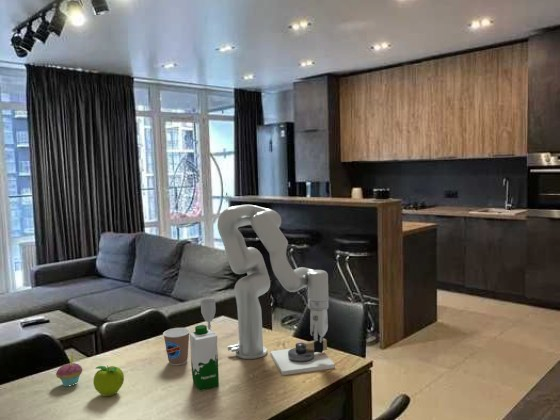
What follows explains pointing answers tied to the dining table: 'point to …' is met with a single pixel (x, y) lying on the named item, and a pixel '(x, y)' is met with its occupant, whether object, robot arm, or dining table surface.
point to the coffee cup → (177, 345)
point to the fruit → (108, 380)
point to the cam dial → (304, 351)
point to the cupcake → (69, 373)
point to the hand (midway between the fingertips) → (318, 351)
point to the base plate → (290, 367)
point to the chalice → (208, 310)
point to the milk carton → (204, 358)
